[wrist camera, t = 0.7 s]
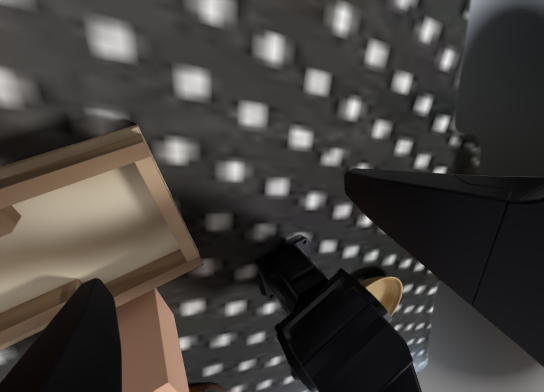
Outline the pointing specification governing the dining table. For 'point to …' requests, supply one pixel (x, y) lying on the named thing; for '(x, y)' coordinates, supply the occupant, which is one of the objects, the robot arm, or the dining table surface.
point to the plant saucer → (385, 291)
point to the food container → (206, 388)
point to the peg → (150, 346)
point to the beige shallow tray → (85, 229)
